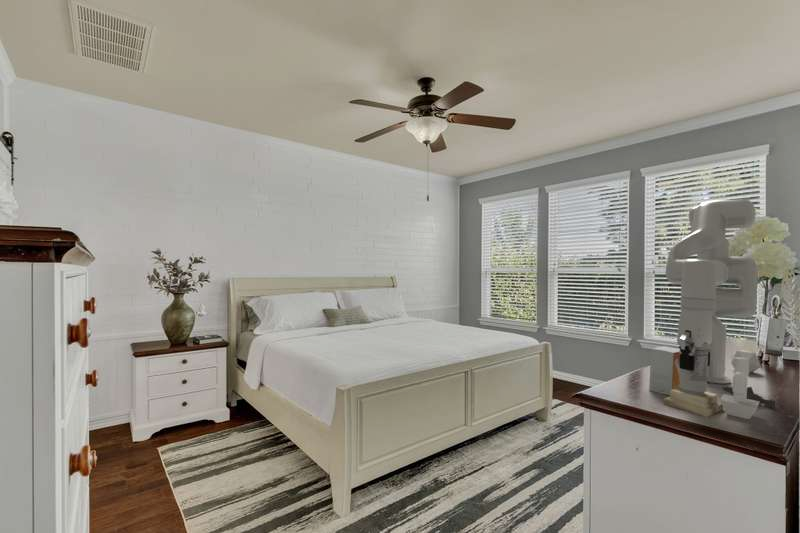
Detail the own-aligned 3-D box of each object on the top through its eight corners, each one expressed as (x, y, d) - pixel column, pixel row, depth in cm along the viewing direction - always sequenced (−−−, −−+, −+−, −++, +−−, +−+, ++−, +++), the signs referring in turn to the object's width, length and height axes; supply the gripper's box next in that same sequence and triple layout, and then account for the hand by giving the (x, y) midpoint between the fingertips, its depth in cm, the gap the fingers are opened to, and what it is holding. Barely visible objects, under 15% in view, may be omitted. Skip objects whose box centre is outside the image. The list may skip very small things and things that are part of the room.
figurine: (718, 414, 101) (721, 357, 101) (724, 406, 107) (726, 352, 107) (756, 423, 96) (758, 363, 95) (759, 414, 102) (762, 357, 102)
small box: (671, 396, 114) (673, 352, 114) (648, 390, 119) (650, 348, 119) (683, 392, 119) (685, 349, 118) (660, 386, 124) (662, 345, 124)
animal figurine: (774, 410, 109) (779, 394, 108) (773, 414, 106) (778, 397, 105) (721, 392, 117) (726, 377, 116) (719, 395, 114) (724, 379, 113)
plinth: (680, 398, 113) (681, 384, 113) (722, 409, 105) (723, 395, 105) (663, 403, 108) (664, 389, 108) (707, 416, 99) (707, 401, 99)
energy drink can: (696, 388, 109) (698, 335, 109) (711, 396, 103) (714, 340, 103) (674, 387, 110) (676, 334, 110) (687, 394, 104) (690, 338, 104)
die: (737, 369, 151) (722, 349, 151) (764, 362, 145) (749, 341, 146) (740, 381, 145) (724, 360, 145) (768, 375, 139) (752, 352, 139)
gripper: (695, 302, 114) (692, 360, 114) (666, 304, 104) (664, 367, 105) (727, 305, 107) (724, 367, 107) (700, 307, 98) (697, 375, 98)
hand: (694, 367), depth 106 cm, fingers open, 9 cm apart
